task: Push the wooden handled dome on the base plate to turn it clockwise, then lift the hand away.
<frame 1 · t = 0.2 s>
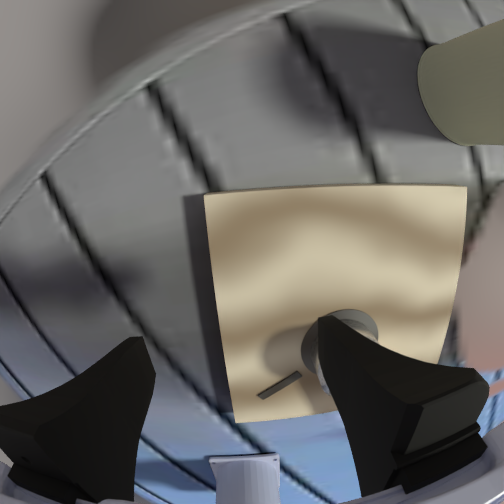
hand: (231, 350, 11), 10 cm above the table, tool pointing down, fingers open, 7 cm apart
wooden handled dome: (356, 384, 21), point 3 cm above the table, hinge at 0.0°
can: (456, 94, 18), on the table
base plate: (348, 312, 23), on the table
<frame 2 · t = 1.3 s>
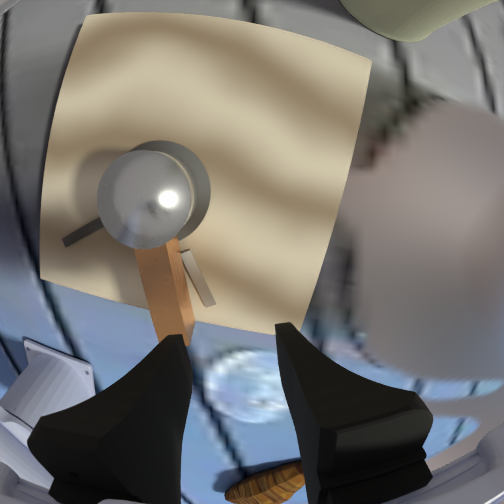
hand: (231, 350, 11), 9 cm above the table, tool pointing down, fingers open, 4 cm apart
wooden handled dome: (159, 249, 16), point 4 cm above the table, hinge at 0.0°
croissant: (265, 474, 29), on the table
base plate: (185, 163, 18), on the table
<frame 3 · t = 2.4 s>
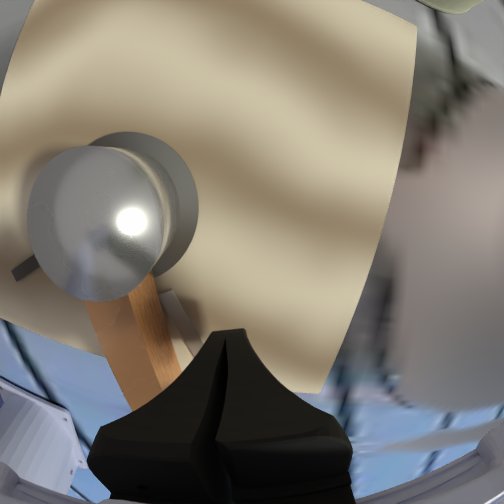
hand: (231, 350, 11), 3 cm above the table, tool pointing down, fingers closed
wooden handled dome: (124, 295, 10), point 3 cm above the table, hinge at 0.0°
base plate: (162, 164, 12), on the table
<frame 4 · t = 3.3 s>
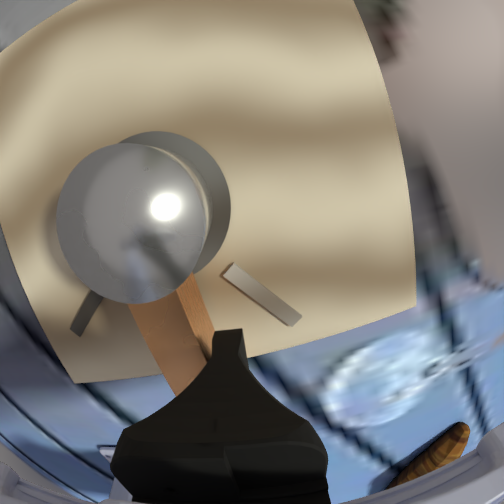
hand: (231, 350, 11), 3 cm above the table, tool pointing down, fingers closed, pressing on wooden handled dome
wooden handled dome: (167, 294, 11), point 3 cm above the table, hinge at 19.0°, touching gripper
croissant: (419, 458, 22), on the table
base plate: (170, 156, 13), on the table
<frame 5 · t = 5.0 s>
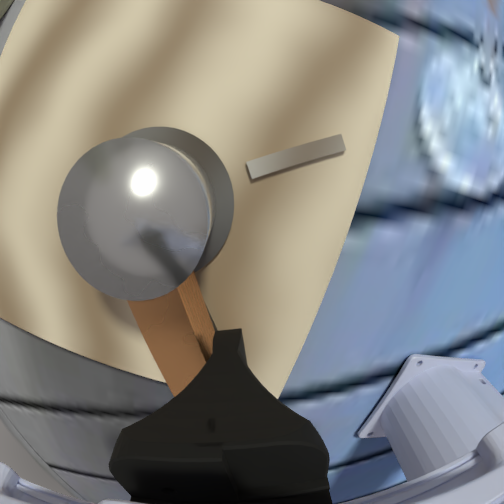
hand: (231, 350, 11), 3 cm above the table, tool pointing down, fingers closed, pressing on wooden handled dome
wooden handled dome: (167, 292, 11), point 3 cm above the table, hinge at 79.9°, touching gripper
base plate: (129, 170, 12), on the table
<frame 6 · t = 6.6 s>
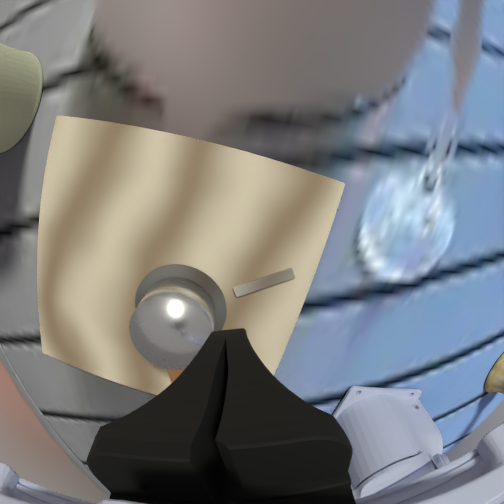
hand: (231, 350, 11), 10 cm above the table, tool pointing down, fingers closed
wooden handled dome: (185, 361, 19), point 4 cm above the table, hinge at 86.7°
hand bell: (503, 367, 27), on the table
can: (7, 101, 16), on the table
base plate: (159, 279, 21), on the table
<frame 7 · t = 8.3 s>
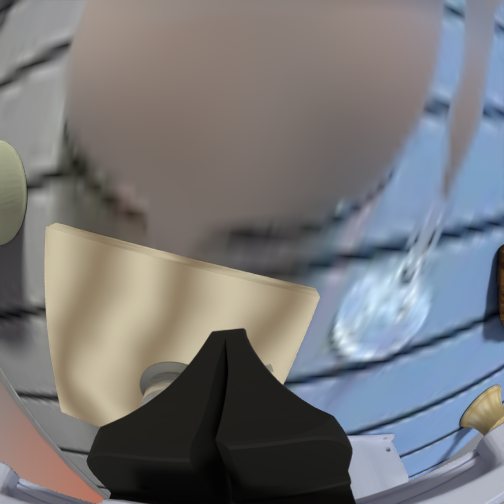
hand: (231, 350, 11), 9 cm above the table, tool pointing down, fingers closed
wooden handled dome: (184, 431, 21), point 4 cm above the table, hinge at 86.7°
hand bell: (480, 405, 29), on the table
base plate: (158, 365, 23), on the table
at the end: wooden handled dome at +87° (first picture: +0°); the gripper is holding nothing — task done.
